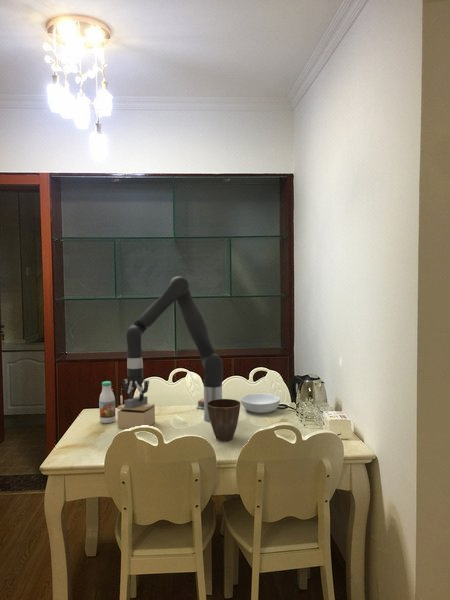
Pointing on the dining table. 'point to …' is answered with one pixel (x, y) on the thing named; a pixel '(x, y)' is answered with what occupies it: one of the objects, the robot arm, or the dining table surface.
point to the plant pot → (224, 417)
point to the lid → (141, 408)
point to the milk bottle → (107, 404)
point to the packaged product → (200, 404)
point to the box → (135, 417)
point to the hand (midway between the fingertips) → (136, 400)
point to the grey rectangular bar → (134, 402)
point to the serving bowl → (260, 402)
